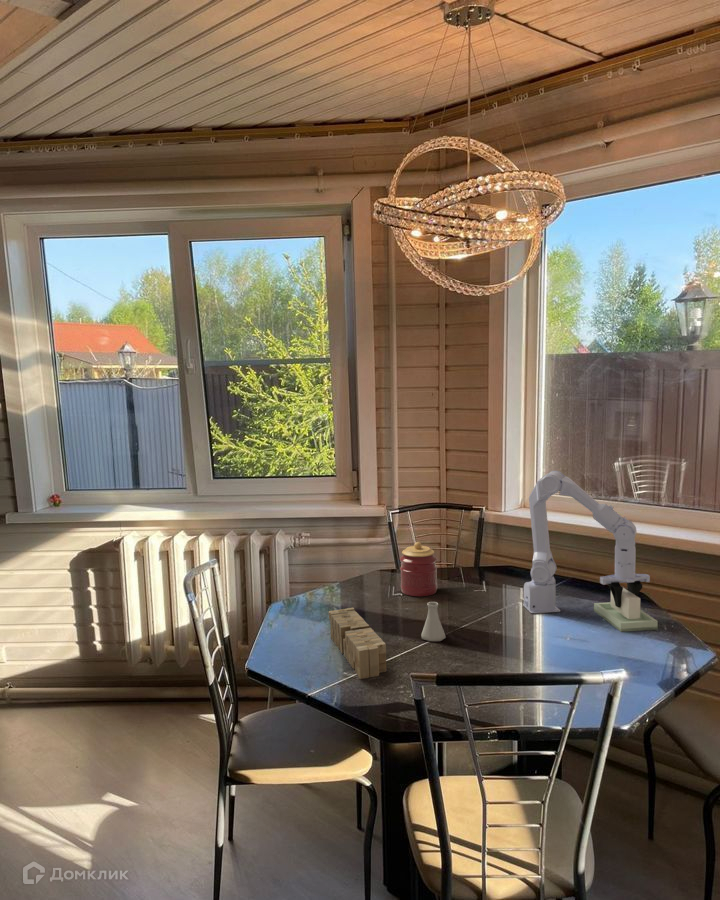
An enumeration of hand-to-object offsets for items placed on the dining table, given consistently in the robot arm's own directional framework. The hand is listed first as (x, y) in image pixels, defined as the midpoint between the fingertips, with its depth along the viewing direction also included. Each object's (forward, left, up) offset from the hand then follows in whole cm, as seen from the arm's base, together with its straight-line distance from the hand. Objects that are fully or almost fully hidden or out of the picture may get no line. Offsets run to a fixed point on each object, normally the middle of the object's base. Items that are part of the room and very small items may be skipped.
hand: (624, 606), depth 189 cm
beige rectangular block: (0, 0, -2) cm, 2 cm away
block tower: (-82, -12, -5) cm, 83 cm away
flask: (-59, -4, -4) cm, 59 cm away
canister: (-56, +37, -4) cm, 67 cm away
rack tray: (0, 0, -4) cm, 4 cm away
